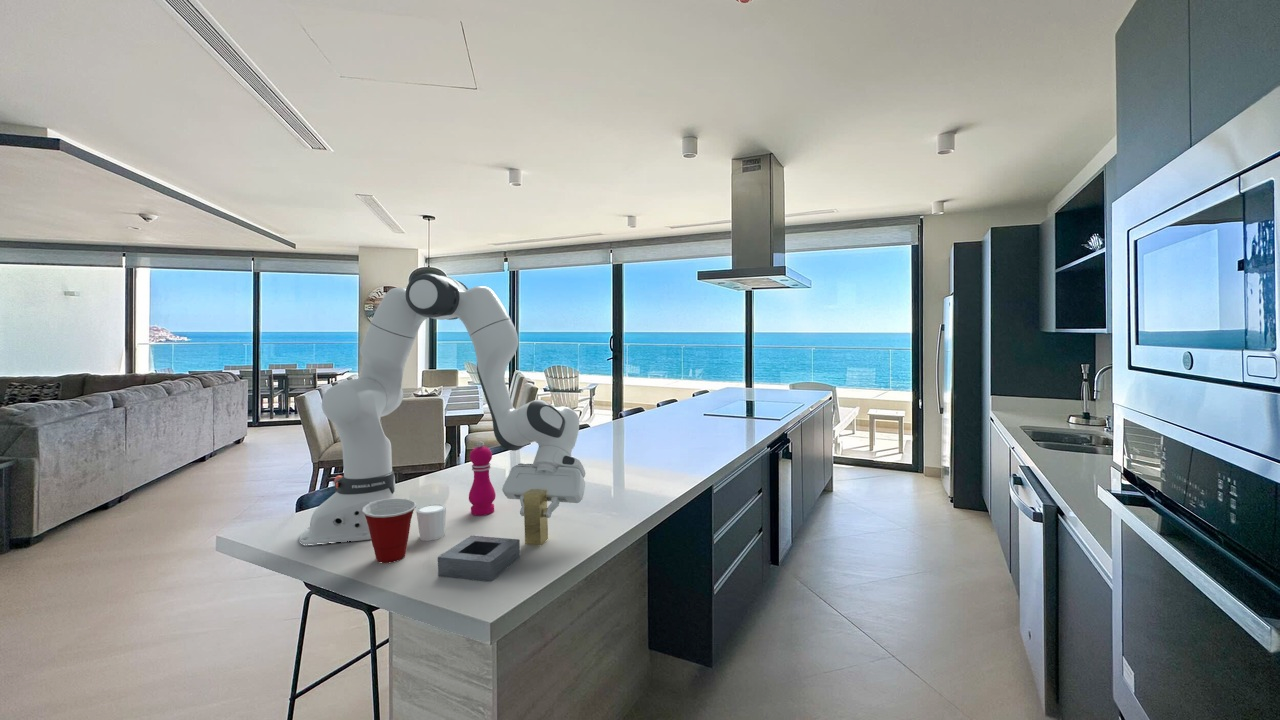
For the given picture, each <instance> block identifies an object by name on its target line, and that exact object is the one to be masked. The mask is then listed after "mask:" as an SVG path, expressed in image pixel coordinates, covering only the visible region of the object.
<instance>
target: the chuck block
mask: <svg viewBox="0 0 1280 720" xmlns="http://www.w3.org/2000/svg"><path fill="white" fill-rule="evenodd" d="M520 544H521V542H520V539H517V538H505V537H496V536H495V537H491V536H481V535H469V536H468V537H467V538H465V539H463V540H462V541H460V542H459V543H457V544H456V545H454V546H453V547H451V548H450V549H448V550H447V551H444V552H442V554H440V555H438V556H437V576H438V578H439V577H441V578H449V579H456V580H457V579H459V580H469V581H477V582H487V583H492V582H493V581H495V580H496V579H497V578H498V577H499V576H500V575H501V574H502V573H504V572H505V571H506V570H507V569H508V568H509V567H510V566H512V565H513V564H514V563H515V562H517V561H518V560H519V559H520V558H521V548H520V547H521V545H520Z"/></svg>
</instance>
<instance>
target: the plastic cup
mask: <svg viewBox="0 0 1280 720" xmlns="http://www.w3.org/2000/svg"><path fill="white" fill-rule="evenodd" d="M416 508H417V503H416V501H414V500H413V499H408V498H403V497H402V498H398V497H394V498H393V499H384V500H379V501H375V502H372V503H370V504H367V505H366V506H365V507H363V510H362V511H363V513H364V514H365V516H366V519H367V524H368V527H369V531H370V536H371V539H370V540H371V543H372V548H373V550H374V556H375V559H376V562H377V563H379V562H382V563H381V564H390V563H389V562H391V563H395V562H394V561H396V562H398V561H397V560H399V561H400V559H401V560H403V559H404V558H405V557H406V554H407V546H408V542H409V535H410V529H411V523H412V518H413V514H414V512H415V509H416ZM403 557H404V558H403ZM402 558H403V559H402Z"/></svg>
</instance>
